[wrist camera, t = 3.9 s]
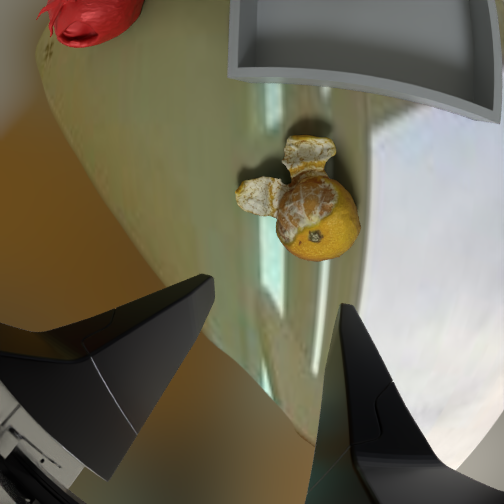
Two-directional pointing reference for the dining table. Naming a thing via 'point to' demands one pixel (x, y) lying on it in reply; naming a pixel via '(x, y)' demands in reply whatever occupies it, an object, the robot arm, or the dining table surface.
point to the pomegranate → (90, 20)
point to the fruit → (305, 202)
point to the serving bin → (375, 49)
